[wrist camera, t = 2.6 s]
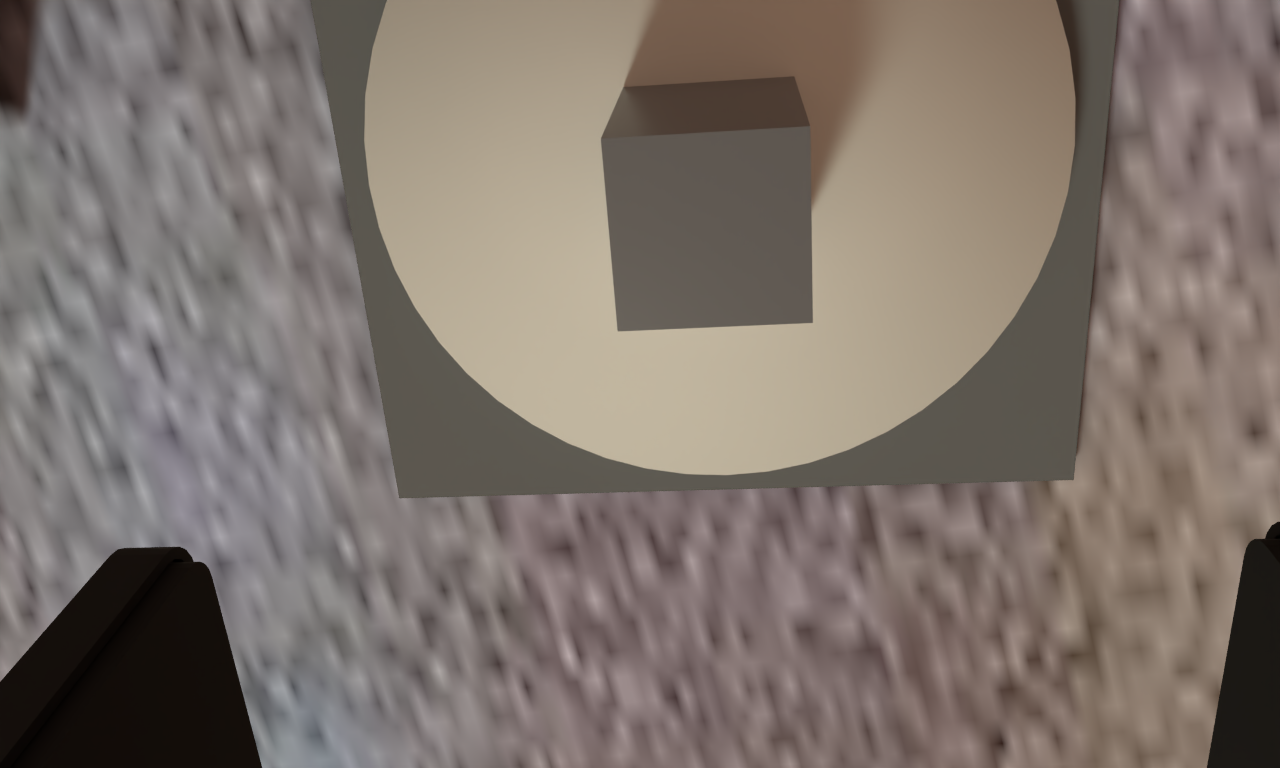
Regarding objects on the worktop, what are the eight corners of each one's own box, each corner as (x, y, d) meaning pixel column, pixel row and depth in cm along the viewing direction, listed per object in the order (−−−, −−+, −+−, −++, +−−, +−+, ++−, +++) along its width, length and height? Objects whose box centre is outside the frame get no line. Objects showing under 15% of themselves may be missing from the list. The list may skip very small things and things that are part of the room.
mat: (1067, 469, 32) (1073, 479, 32) (404, 487, 34) (399, 498, 34) (1140, -317, 25) (1149, -321, 24) (276, -241, 26) (267, -244, 26)
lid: (1039, 447, 31) (1112, 583, 26) (429, 467, 33) (365, 600, 27) (1093, -263, 25) (1211, -302, 19) (317, -196, 26) (198, -212, 20)
